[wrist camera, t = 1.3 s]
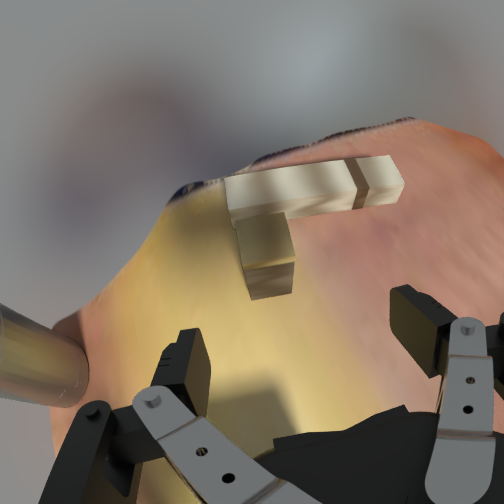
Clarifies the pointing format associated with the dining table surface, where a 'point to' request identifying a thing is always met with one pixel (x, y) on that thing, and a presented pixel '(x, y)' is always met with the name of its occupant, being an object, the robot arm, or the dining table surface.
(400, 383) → the dining table surface
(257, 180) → the board
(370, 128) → the dining table surface
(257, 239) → the brown rectangular block
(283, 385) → the dining table surface
